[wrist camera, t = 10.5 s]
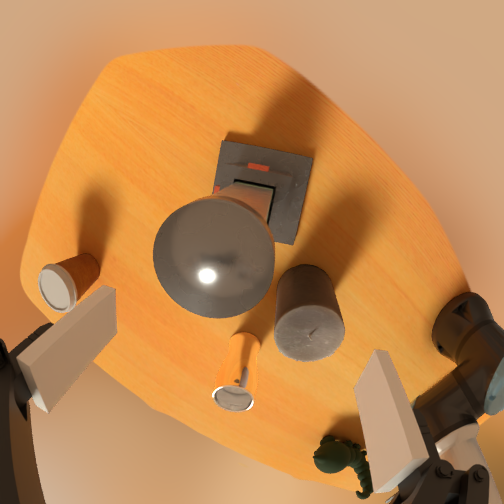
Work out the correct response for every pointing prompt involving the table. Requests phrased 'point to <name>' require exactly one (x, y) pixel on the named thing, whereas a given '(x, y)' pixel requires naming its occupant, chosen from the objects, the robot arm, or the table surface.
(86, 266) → the disposable coffee cup
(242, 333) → the beer glass
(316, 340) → the pillar candle
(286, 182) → the jack stand
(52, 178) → the table surface
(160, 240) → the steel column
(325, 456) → the toy figurine
